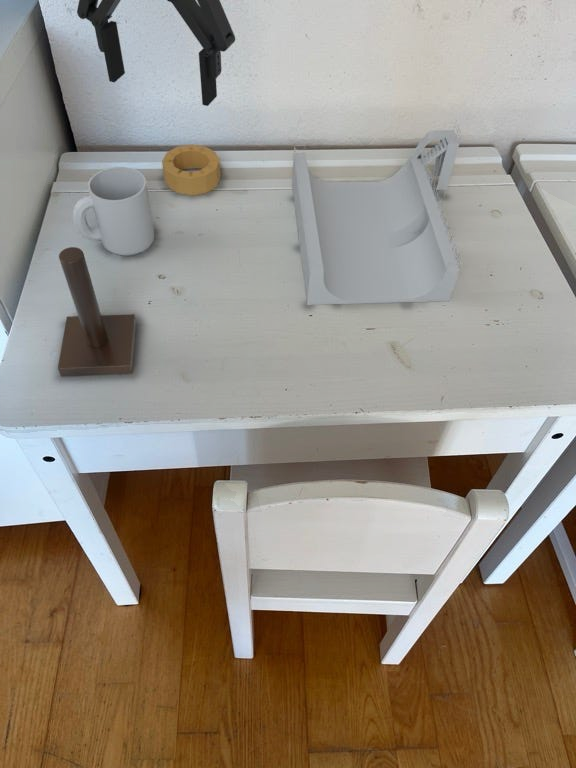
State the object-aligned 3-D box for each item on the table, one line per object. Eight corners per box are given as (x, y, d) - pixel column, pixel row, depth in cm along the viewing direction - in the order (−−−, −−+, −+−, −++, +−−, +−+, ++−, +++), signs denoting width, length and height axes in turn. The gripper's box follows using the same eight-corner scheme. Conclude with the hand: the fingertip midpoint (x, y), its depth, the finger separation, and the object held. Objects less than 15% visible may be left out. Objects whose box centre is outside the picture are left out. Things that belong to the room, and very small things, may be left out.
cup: (161, 249, 86) (153, 193, 78) (88, 267, 83) (72, 212, 76) (147, 217, 89) (137, 161, 82) (76, 234, 87) (59, 178, 80)
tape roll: (153, 178, 95) (151, 161, 93) (192, 156, 99) (191, 138, 97) (192, 202, 92) (190, 184, 90) (231, 177, 96) (230, 160, 94)
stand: (60, 376, 72) (23, 284, 60) (69, 324, 77) (36, 229, 65) (132, 373, 73) (108, 281, 61) (136, 322, 77) (115, 227, 66)
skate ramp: (292, 185, 95) (295, 123, 87) (439, 183, 97) (456, 122, 89) (307, 304, 80) (312, 243, 72) (481, 300, 82) (505, 239, 74)
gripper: (262, -101, 66) (261, 96, 83) (56, -138, 70) (95, 55, 87) (232, -79, 61) (237, 125, 78) (14, -119, 66) (64, 80, 83)
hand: (162, 89), depth 83 cm, fingers open, 13 cm apart
